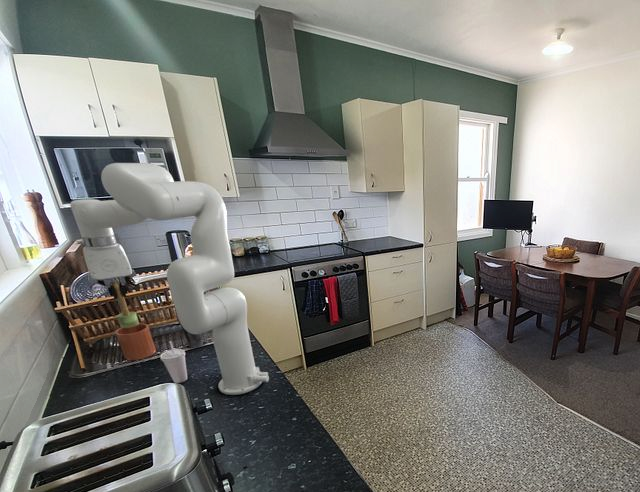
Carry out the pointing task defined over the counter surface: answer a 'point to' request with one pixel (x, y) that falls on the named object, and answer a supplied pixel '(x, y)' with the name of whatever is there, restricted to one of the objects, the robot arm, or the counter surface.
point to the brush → (124, 309)
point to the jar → (136, 342)
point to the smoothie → (175, 363)
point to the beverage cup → (192, 337)
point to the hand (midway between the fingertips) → (120, 296)
